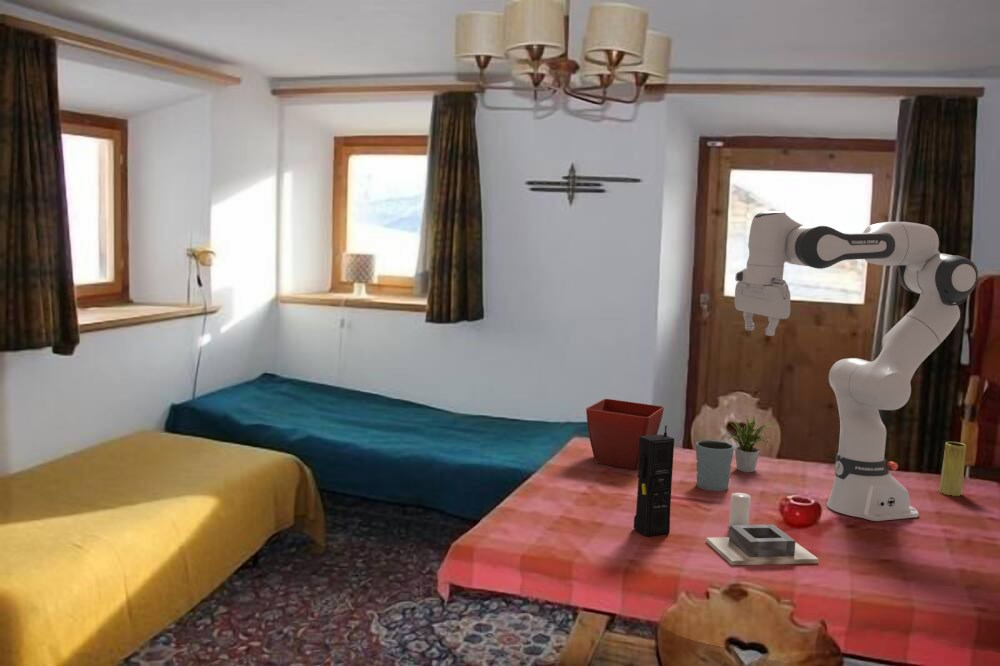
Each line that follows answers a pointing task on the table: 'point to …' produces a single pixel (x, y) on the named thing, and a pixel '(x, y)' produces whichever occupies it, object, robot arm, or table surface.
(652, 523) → the portable radio
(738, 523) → the connector plug
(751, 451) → the house plant
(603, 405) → the plant pot
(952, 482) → the vase
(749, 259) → the robot arm
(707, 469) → the teal cup
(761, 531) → the end holder
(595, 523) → the table surface
